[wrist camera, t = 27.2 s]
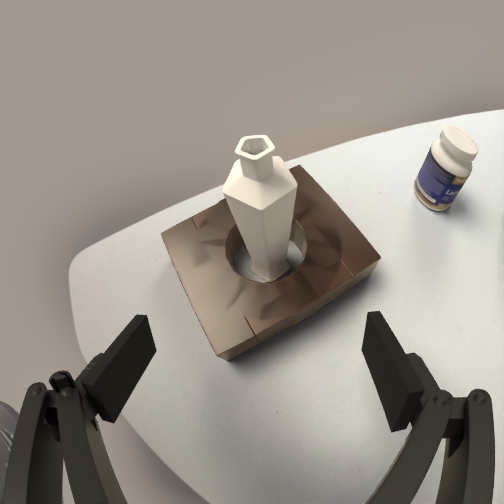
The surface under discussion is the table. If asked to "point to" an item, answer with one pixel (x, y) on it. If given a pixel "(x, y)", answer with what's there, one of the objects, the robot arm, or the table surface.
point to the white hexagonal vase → (262, 204)
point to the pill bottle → (445, 168)
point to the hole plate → (270, 293)
